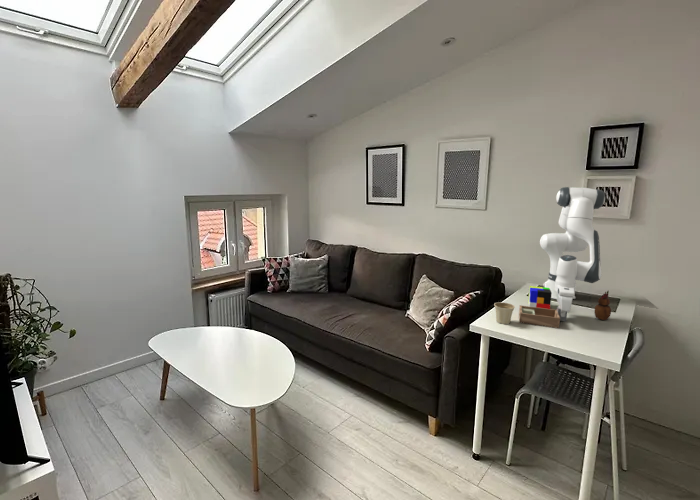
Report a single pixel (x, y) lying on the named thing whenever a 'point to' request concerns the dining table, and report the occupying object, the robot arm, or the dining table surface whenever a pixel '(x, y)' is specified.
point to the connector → (560, 315)
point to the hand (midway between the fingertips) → (561, 314)
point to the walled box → (539, 316)
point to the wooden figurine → (603, 308)
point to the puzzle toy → (539, 297)
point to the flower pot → (503, 312)
